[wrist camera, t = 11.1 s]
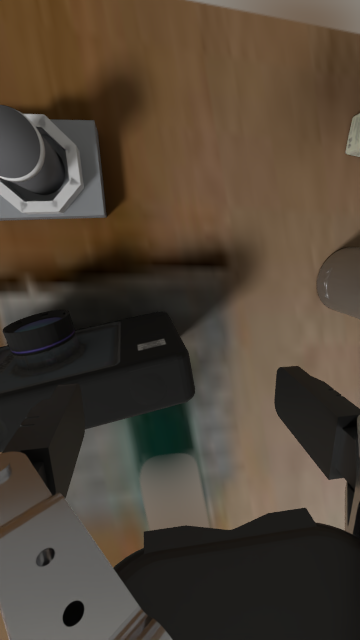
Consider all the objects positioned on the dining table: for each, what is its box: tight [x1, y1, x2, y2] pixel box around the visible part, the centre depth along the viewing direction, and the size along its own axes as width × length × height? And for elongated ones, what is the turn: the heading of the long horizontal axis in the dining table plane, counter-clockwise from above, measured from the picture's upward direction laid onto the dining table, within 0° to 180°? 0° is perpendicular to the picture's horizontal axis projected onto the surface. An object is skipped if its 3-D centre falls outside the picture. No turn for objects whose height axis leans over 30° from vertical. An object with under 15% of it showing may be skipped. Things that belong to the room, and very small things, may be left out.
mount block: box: [0, 114, 107, 220], centre depth 29 cm, size 12×9×5 cm
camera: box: [0, 310, 195, 452], centre depth 30 cm, size 23×10×15 cm, turn 99°
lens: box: [0, 105, 65, 195], centre depth 25 cm, size 5×5×8 cm
